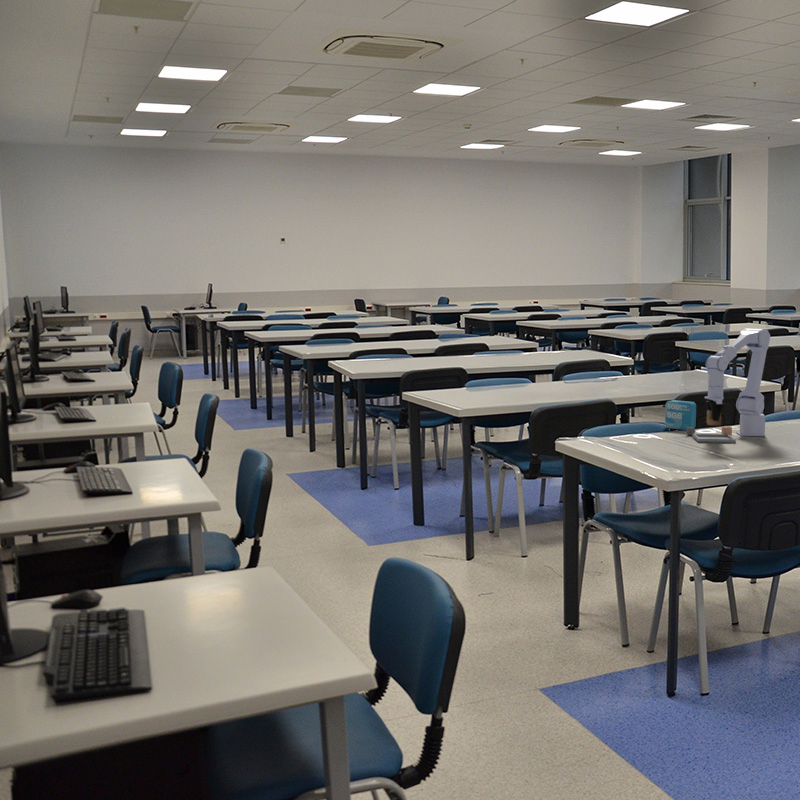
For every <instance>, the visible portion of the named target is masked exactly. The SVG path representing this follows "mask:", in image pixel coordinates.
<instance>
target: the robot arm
mask: <svg viewBox="0 0 800 800" xmlns="http://www.w3.org/2000/svg"><path fill="white" fill-rule="evenodd" d="M770 340H771V333H770V332H769V330H768V329H767V328H749V327H745V328H743V329H742V330H741V331H739V336H738V337H737V338H736V339H735V340H734V341H733V342H732V343H731V344H729V345H724V346H723V348H721V349H720V350H719V351H717V352H716V353H715V354H714V355H710V356H709V357H708V358H707V359H706V362H705V367H706V370H707V371H706V373H707V375H708V380H707V381H708V382H707V383H708V384H707V396H704V399H706V401H705V403H706V405H707V408H708V409H707V410H712V418H713V421H719V419H720V415H721V416H722V411H723V409H724V407H725V406H726V404H725V403H723V400H724V398H725V397H724V383H725V381H724V380H725V377H724V376H725V370H727V368H728V365H729V364H730V362H731V361H732V360H734V358H736V357H737V355H738V351H740V350H741V349H743V348H745V347H746V348H747V349H749V350H750V351H751V358H750V363H749V369H748V375H747V378H746V379H747V380H746V384H745V389H743V390H742V391H741V392H739V395H738V398H737V400H736V403H735V407H736V410H737V411H738V413H739V417H740V418H739V431H736V434H738V435H740V436H741V437H765V436H766V433H765V432H766V416H765V414H764V413H762V412H763V411H764V409H765V396H764V395H763V394H762V392H760V388H761V385H762V384H761V383H762V378H763V373H764V368H765V363H766V357H767V351H768V350H769V345H770Z"/></svg>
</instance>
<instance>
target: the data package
mask: <svg viewBox="0 0 800 800" xmlns="http://www.w3.org/2000/svg"><path fill="white" fill-rule="evenodd" d="M664 414H665V417H664V426H665V425H666V426H665V427H666V428H667V429H674V430H681V431H686V429H687V428H688V427H693V428H694V429H695V428H696V424H697V423H696V420H697V419H696V418H697V404H696V403H695V401H685V400H675V399H672V400H668V401H666V403H665V413H664Z"/></svg>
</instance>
